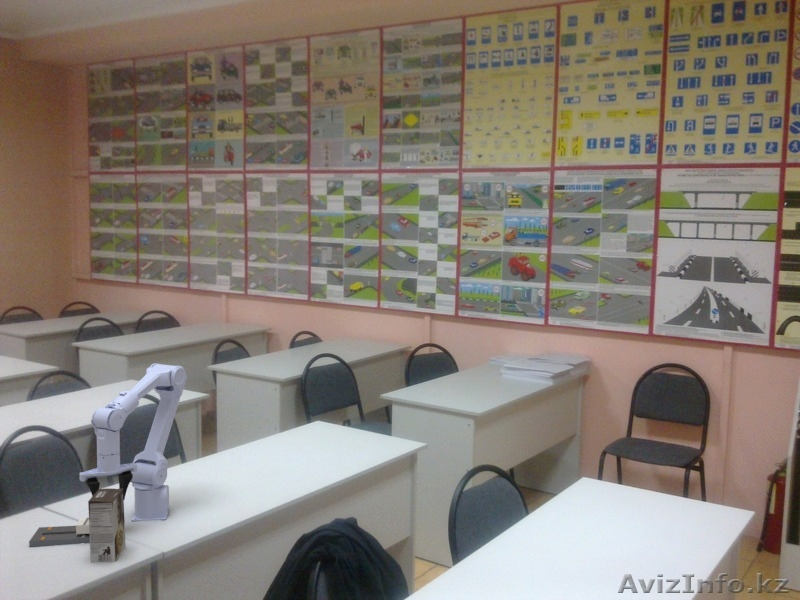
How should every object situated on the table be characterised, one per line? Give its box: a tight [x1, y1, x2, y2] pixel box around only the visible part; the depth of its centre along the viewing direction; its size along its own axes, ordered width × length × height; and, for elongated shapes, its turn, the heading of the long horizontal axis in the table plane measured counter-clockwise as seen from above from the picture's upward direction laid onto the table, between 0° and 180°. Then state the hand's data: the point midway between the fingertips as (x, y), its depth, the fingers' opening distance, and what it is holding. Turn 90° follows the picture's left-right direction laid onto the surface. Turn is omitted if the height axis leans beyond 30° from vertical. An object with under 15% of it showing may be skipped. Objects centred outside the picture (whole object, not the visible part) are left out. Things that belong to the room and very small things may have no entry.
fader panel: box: [28, 525, 90, 548], centre depth 201 cm, size 16×9×2 cm, turn 100°
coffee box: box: [87, 488, 126, 564], centre depth 190 cm, size 9×6×16 cm
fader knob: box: [75, 517, 90, 534], centre depth 202 cm, size 4×5×2 cm
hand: (109, 501), depth 203 cm, fingers open, 6 cm apart
